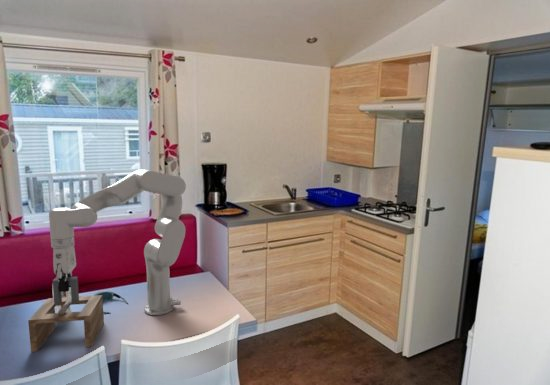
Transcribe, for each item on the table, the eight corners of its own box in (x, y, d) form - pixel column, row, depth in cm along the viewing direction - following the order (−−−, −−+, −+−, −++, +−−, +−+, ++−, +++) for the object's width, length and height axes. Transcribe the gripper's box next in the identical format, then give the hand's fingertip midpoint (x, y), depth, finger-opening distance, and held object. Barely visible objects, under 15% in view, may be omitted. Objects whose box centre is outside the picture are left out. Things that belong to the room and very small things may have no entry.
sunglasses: (108, 296, 181) (108, 287, 180) (131, 307, 175) (132, 297, 174) (82, 309, 168) (82, 298, 167) (106, 320, 163) (107, 309, 162)
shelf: (103, 322, 156) (101, 290, 154) (91, 346, 139) (89, 310, 136) (50, 326, 152) (47, 293, 150) (31, 351, 135) (27, 314, 133)
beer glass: (65, 320, 157) (62, 286, 155) (50, 318, 159) (47, 284, 156) (77, 313, 164) (74, 279, 162) (62, 311, 166) (60, 278, 163)
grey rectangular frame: (78, 300, 145) (77, 276, 144) (76, 303, 142) (74, 279, 141) (57, 301, 144) (55, 277, 143) (54, 304, 141) (52, 280, 140)
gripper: (66, 247, 132) (69, 297, 135) (80, 235, 148) (83, 280, 151) (42, 248, 131) (46, 299, 134) (59, 236, 147) (62, 281, 150)
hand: (65, 288), depth 142 cm, fingers closed on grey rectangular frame, 3 cm apart
